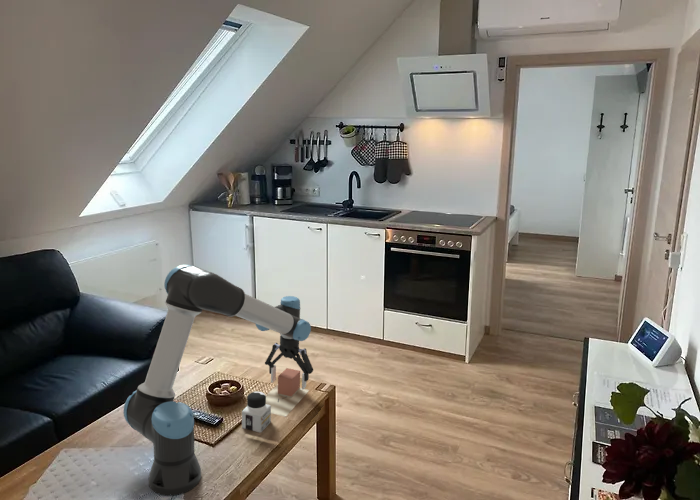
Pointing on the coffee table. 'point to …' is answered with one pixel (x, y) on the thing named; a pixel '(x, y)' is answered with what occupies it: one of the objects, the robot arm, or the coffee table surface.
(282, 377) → the block
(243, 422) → the container
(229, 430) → the coffee table surface
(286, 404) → the board
